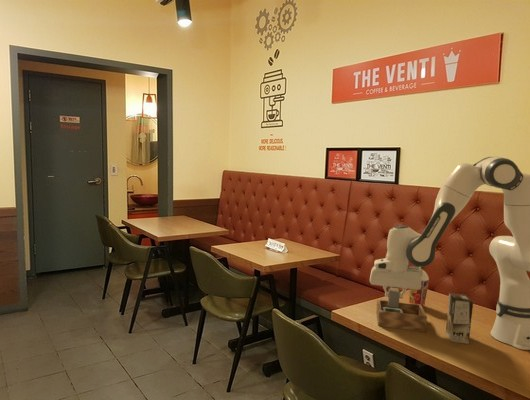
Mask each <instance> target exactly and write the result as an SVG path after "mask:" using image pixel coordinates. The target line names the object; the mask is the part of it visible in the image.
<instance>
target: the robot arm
mask: <svg viewBox="0 0 530 400" xmlns="http://www.w3.org/2000/svg"><path fill="white" fill-rule="evenodd" d="M484 185H486V186H489V187H492V188H493V187H494V188H496V189H501V191H502V193H503V223H504V225H505V227H506V228H507V229H508V230H509V231H510V233H511V234H512V235H498V236H495V237H494V238H493V239H492V240H491V242H490V244H489V246H488V249H489V251H488V252H489V254H490V255H491V257H492V258H493V259H494V261H495V263H496V266H497V269H498V273H499V279H500V281H499V282H500V284H499V297H498V299H497V304H496V309H495V310H496V311H495V312H496V317H495V321H494V323H493V326H492V329H491V331H490V336H491V337H492V338H494V339H495V340H497V341H499V342H502V343H504V344H507V345H509V346H512V347H514V348H516V349H519V350H524V351H525V350H526V351H528V350H529V351H530V277H529V275H528V273H527V272H529V273H530V174H529V173H524V172H521V170H520V169H519V167H518V165H517V164H516V163H515V162H514V161H513V160H511V159H509V158H505V157H503V156H502V157H501V156H488V157H485V158H482V159H480V160H479V161H477V162H475V163H474V164H471V163H467V162H465V163H459V164H458V165H457V166H455V168H454V169H453V170H452V171H451V172H450V174H448V176H447V178H446V179H445V180H444V182H443V184H442V185H441V186H440V189H439V191H438V193H437V196H436V198H435V202H434V209H433V213H432V215H431V217H430V219H429V221H428V223H427V225H426V226H425V227H424V229H423V231H422V232H421V233H419V232H417V231H415V230H414V229H412V228H411V227H410V226H408V225H396V226H395V225H394V226H392V227H391V228H390V229H389V230H388V235H387V240H386V249H387V251H386V254H385V258H379V259H375V260H374V262H373V263H374V264H373V265H374V266H372V268H371V270H370V276H369V283H370V284H371V285H372V286H381V287H382V289H383V291H384V297H387V298H388V297H389V291H387V288H388V287H389V288H391V287H398V288H399V289H402V291H401V292H400V298H399V299H404V298H403V297H404V294H405V293H406V292H407V289H408V290H410V289H415V290H419V289H420V288H421V277H422V275H423V271H424V270H423V269H422V267H427V266H429V265H430V264H432V263H433V261H434V260H435V257H436V256H435V255H436V248H437V244H438V242H439V241H440V239H441V238H442V236H443V234H444V232H445V231H446V230H447V228H448V226H449V224H451V222H452V221H453V220H454V219H455V218H456V217H457V216H458V215H459V213H461V212H462V211H463V209H464V208H465V207H466V205H467V204H468V203H469V201H470V200H471V198H472V196H473V195H474V194H475V192H476V190H477V189H479V188H480V187H481V186H484ZM409 262H410V263H409ZM409 264H412V265H409ZM419 267H421V268H419Z"/></svg>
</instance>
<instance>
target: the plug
mask: <svg viewBox="0 0 530 400" xmlns="http://www.w3.org/2000/svg"><path fill="white" fill-rule="evenodd" d="M388 292H389V297H387V301H388V307H395V308H399V302H400V299H401V298H400V293H401V292H400V288H398V287H390V288H388Z"/></svg>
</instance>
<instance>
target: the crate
mask: <svg viewBox="0 0 530 400" xmlns="http://www.w3.org/2000/svg"><path fill="white" fill-rule="evenodd" d="M375 313H376V319H377V326H379V327H387V328H394V329H395V328H396V329H402V330H410V331H411V330H412V331H417V332H426V330H427V320H428V318H427V315H426V312H425V310H424V307H422V306H421V304H413V303H410V302H403V301H399V308H395V307H388V299H387V300H383V299H376V311H375Z"/></svg>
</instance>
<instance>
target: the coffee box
mask: <svg viewBox="0 0 530 400" xmlns="http://www.w3.org/2000/svg"><path fill="white" fill-rule="evenodd" d="M473 307H474V301H473V300H472V299H471V298H470V297H469V296H468V295H467V294H466V293H465V294H464V293H451V292H449V293H448V302H447V313H446V326H445V333H446V335H447V337H448V338H449V340H450V341H451V342H453V343H459V344H466V345H469V343H470V335H471V325H472V317H473Z"/></svg>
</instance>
